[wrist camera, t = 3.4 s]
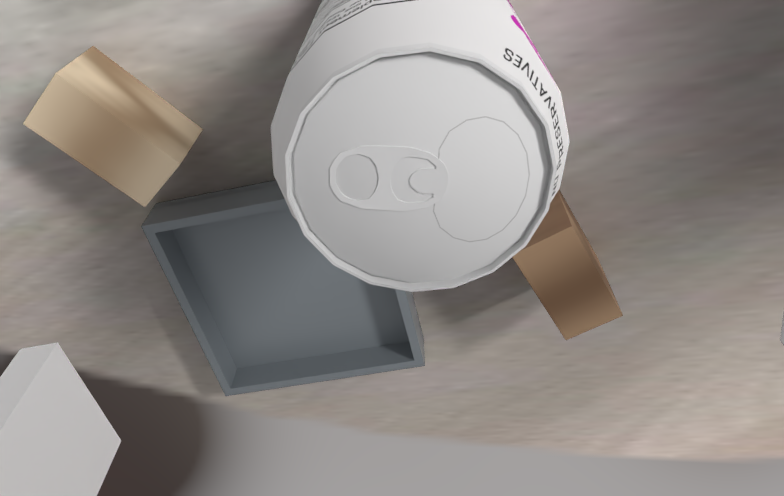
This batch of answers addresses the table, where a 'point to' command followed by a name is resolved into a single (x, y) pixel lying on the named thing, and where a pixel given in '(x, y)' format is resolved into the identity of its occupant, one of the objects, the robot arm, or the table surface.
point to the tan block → (113, 125)
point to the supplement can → (419, 139)
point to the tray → (275, 295)
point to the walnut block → (567, 273)
